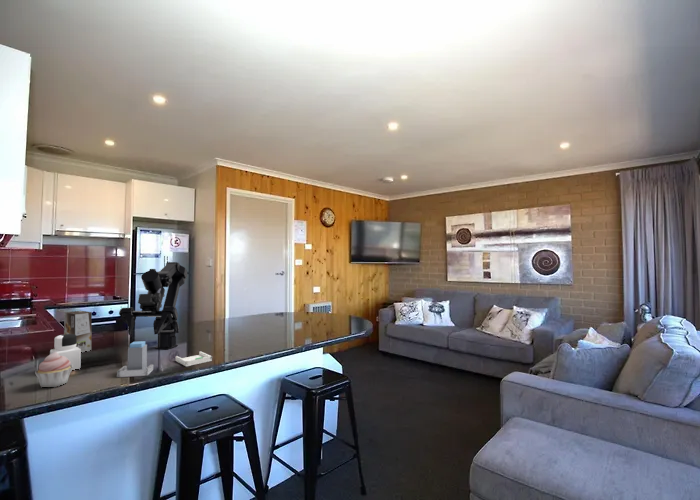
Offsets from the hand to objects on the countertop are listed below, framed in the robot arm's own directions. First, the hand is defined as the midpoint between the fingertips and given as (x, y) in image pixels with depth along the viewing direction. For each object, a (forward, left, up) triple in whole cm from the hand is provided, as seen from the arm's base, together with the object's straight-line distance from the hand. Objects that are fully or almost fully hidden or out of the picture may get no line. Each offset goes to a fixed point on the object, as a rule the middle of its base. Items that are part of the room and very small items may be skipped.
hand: (143, 333), depth 128 cm
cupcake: (-13, -21, -12) cm, 27 cm away
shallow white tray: (+3, -6, -12) cm, 14 cm away
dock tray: (+12, +11, -12) cm, 20 cm away
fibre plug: (+2, -5, -12) cm, 13 cm away
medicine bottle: (-24, -9, -12) cm, 28 cm away
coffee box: (-43, +11, -12) cm, 46 cm away
